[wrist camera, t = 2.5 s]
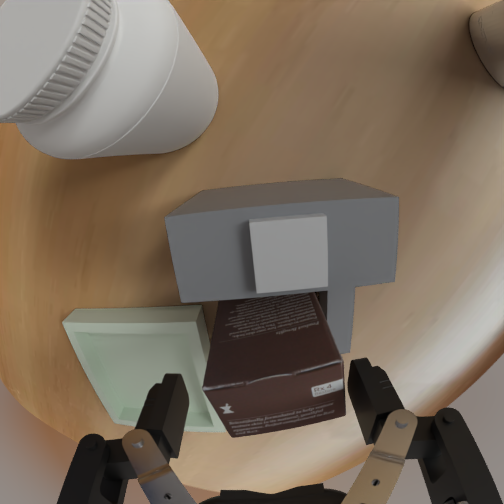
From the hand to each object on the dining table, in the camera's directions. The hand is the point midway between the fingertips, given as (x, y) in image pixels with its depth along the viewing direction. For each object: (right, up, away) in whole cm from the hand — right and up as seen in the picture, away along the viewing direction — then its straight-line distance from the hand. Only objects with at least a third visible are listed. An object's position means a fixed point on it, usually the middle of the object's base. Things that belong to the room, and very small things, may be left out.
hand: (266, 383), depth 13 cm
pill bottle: (-7, +17, +6) cm, 19 cm away
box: (+1, +3, +10) cm, 11 cm away
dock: (+1, +5, +9) cm, 11 cm away
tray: (-10, -5, +13) cm, 18 cm away
